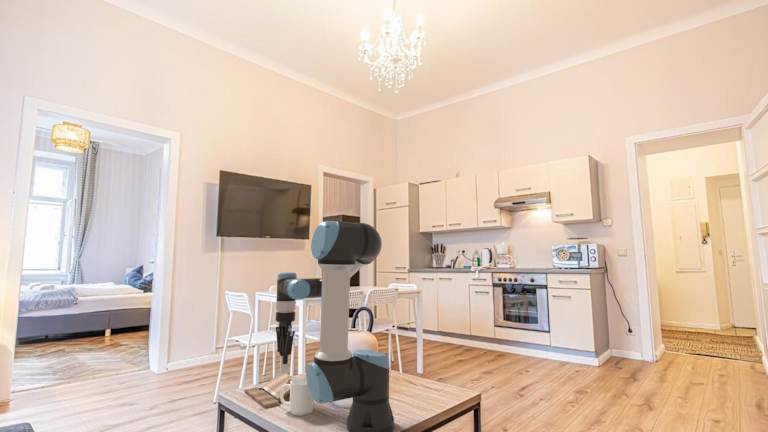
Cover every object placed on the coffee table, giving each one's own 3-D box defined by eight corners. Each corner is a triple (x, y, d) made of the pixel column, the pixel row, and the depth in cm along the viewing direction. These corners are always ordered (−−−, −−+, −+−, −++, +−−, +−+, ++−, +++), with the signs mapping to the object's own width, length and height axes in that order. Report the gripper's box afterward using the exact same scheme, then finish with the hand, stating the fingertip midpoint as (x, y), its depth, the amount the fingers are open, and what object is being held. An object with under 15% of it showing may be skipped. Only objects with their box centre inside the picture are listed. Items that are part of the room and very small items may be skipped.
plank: (300, 383, 151) (299, 380, 151) (279, 401, 145) (277, 398, 145) (283, 373, 163) (281, 370, 163) (262, 390, 158) (260, 387, 157)
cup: (310, 416, 133) (311, 385, 134) (275, 415, 134) (276, 384, 135) (316, 407, 141) (316, 377, 142) (283, 405, 142) (284, 376, 143)
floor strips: (278, 404, 143) (278, 401, 143) (264, 408, 140) (264, 404, 140) (258, 389, 158) (258, 386, 159) (244, 392, 155) (244, 389, 155)
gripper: (301, 312, 155) (299, 374, 153) (287, 308, 165) (285, 366, 163) (283, 314, 150) (281, 377, 148) (270, 309, 160) (267, 369, 158)
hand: (283, 371), depth 155 cm, fingers closed
